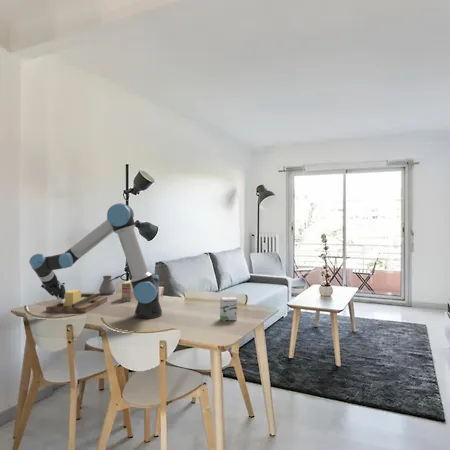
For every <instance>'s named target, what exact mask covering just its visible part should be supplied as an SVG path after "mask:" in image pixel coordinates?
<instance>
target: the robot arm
mask: <svg viewBox="0 0 450 450" xmlns="http://www.w3.org/2000/svg"><path fill="white" fill-rule="evenodd" d="M134 214H135V213H134V210H133V208H132V207H130V206H129V205H127V204H125V203H115V204H113V205H111V206H110V207H109V208H108V210H107V213H106V220H105V221H104V222H102V223H101V224H100V225H98V226H97V227H96V228H94V229H93V230H92V231H90V232H89V233H88V234H86V236H85V237H83V238H82V239H80V240H79V241H78V242H76V243H75V244H73V245H72V246H71V247H69V248H68V249H67V250H66V251H65V252H63V253H60V254H55V255H50V256H49V255H48V256H45V255H44V254H42V253H36V254H33V255H32V256H31V257H30V258H29V265H30V266H31V269H32V270H33V271H34V272H35V274H36V275H37V278H39V280H40V281H41V286H40V288H42V289H44V290H45V291H46V292H47V293H48V294H49V295H50V296H51V297H56V298H57V300H59V302H61V303H64V302H65V298H64V297H65V296H64V295H65V292H66V288H65V284H66V283H65V282H62V283H61V282H60V281H59V280H58V277H57V274H56V273H55V272H54V271H56V270H61V269H67V268H71V267H72V266H73V265H74V264H75V263H76V262H77V261H78V260H79V259H81V258H82V257H84V256H85V254H87V253H89V251H91V250H93V249H94V248H95V247H96V246H97V245H99V244H100V243H102V242H103V241H104V240H105V239H106V238H108V237H109V236H110V235H112V234H113V233H115V234H117V237H118V238H119V239H118V240H119V241H120V244H121V247H122V251H123V253H124V256H125V258H126V259H125V260H126V263H127V266H128V267H129V271H130V274H131V279H130V280H131V284H132V287H133V295H134V297H135V300H136V301H137V304H136V307H135V310H134V317H135V318H137V319H155V318H159V317H161V316H162V315H163V310H162V307H161V305H160V300H159V299H160V286H159V285H160V283H159V282H160V277H159V275H158V274H153V273H151V272H150V271H149V270H148V267H147V264H146V262H145V259H144V258H145V257H144V256H143V255H144V254H143V252H142V249H141V247H140V246H141V245H140V243H139V241H138V237H137V235H136V232H135V227H136V222H135V220H134V216H135V215H134Z"/></svg>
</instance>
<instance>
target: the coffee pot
mask: <svg viewBox="0 0 450 450" xmlns="http://www.w3.org/2000/svg"><path fill="white" fill-rule="evenodd" d="M112 277H113V276H112V275H103V276H102V278H103V279H102V282H101V285H100V287H99V288H98V289H99V290H98V292H99V293H100V294H101V295H105V296H106V295H113V294H114V293H115V292H116V287H115V285H114V284H113V281H114V280H117V279H119V278H123V277H124V276H123V274H121V275H118V276H115V277H113V278H112Z"/></svg>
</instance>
